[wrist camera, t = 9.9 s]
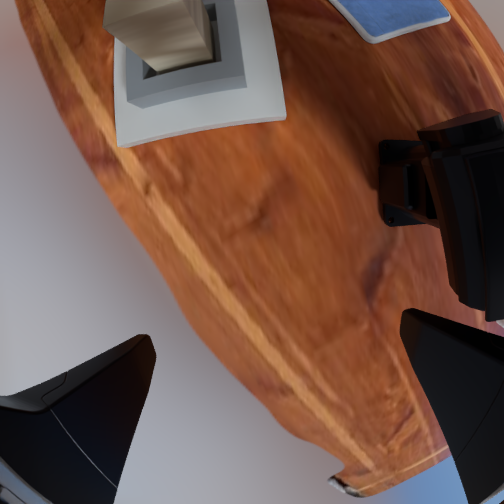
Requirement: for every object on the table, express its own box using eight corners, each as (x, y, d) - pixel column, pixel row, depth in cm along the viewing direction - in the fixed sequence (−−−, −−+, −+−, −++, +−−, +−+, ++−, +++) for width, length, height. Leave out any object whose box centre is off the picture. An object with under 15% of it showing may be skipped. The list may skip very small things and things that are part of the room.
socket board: (263, -7, 15) (262, -34, 11) (284, 120, 18) (289, 107, 14) (123, 25, 16) (102, 6, 12) (126, 147, 19) (99, 144, 15)
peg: (213, 29, 15) (182, -47, 6) (217, 69, 16) (182, 0, 7) (165, 40, 15) (110, -22, 6) (166, 80, 16) (102, 27, 7)
